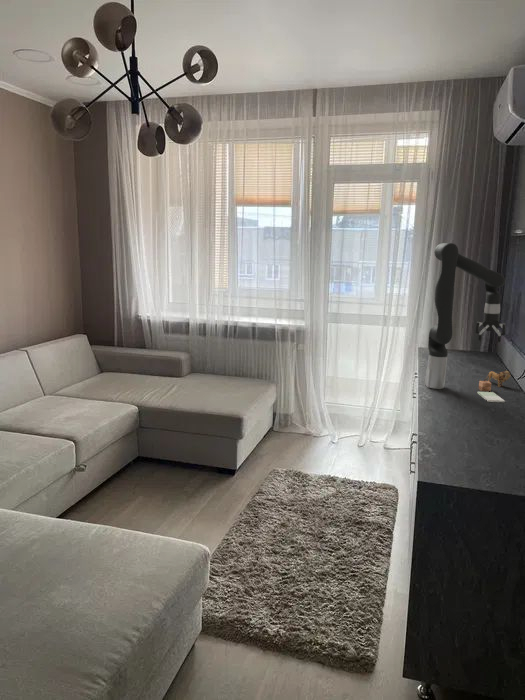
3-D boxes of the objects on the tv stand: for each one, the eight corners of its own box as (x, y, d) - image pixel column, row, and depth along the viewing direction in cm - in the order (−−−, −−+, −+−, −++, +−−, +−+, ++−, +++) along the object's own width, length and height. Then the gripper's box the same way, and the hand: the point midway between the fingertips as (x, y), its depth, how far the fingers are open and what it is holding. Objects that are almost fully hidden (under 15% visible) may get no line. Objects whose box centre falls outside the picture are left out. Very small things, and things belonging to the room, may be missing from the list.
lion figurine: (510, 387, 272) (513, 371, 270) (505, 388, 269) (507, 372, 267) (486, 380, 284) (487, 365, 282) (480, 382, 281) (482, 366, 279)
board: (487, 401, 246) (488, 400, 246) (477, 393, 260) (477, 391, 260) (504, 402, 246) (504, 400, 246) (492, 393, 259) (493, 392, 259)
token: (481, 391, 263) (482, 383, 262) (478, 388, 268) (479, 380, 267) (490, 391, 263) (491, 383, 262) (487, 389, 268) (488, 381, 267)
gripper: (476, 312, 264) (474, 342, 268) (506, 313, 258) (503, 344, 262) (478, 310, 271) (475, 339, 274) (507, 311, 264) (504, 341, 268)
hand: (489, 342), depth 268 cm, fingers open, 8 cm apart
